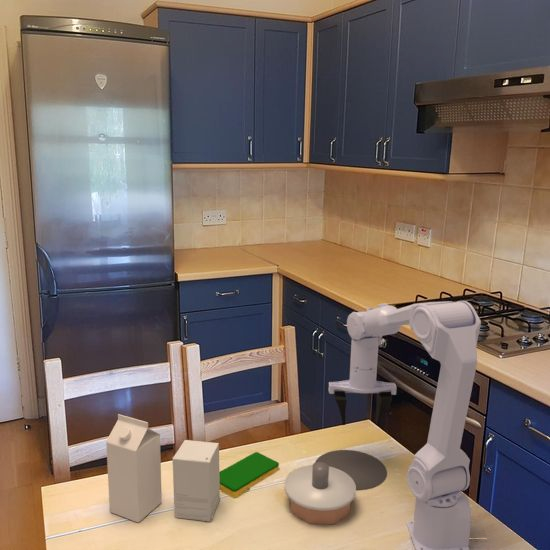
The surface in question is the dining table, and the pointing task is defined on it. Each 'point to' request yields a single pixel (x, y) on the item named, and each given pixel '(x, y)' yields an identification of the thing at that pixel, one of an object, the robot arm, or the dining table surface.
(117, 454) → the milk carton
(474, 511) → the dining table surface
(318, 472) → the lid
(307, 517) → the bowl
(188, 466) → the supplement box
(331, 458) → the mat
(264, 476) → the dish sponge
